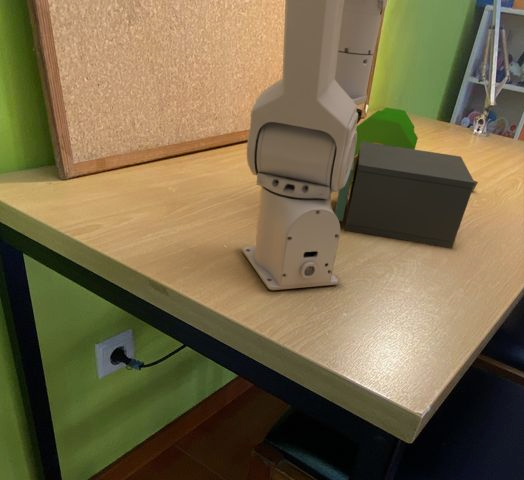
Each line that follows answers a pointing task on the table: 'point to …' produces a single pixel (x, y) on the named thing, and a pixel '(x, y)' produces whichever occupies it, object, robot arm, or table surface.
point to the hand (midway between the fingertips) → (329, 166)
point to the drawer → (343, 196)
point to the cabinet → (408, 194)
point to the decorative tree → (386, 130)
